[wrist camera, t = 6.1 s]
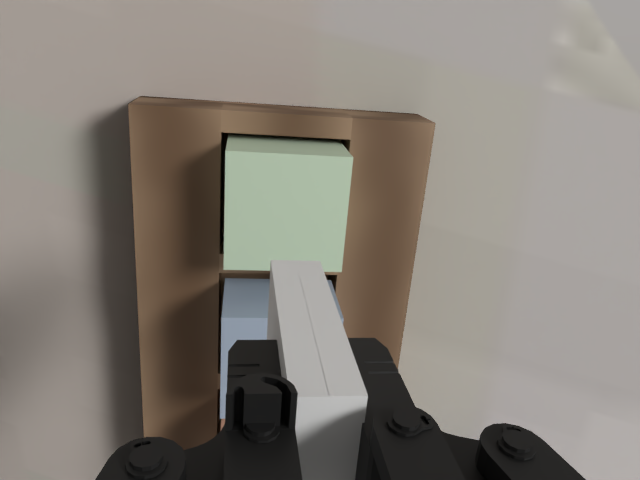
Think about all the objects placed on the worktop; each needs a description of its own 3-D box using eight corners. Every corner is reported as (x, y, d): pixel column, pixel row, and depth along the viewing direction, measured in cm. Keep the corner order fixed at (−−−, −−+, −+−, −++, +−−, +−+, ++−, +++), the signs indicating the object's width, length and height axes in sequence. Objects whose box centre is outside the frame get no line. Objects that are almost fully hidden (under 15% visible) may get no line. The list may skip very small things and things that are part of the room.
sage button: (226, 237, 28) (223, 269, 24) (228, 133, 26) (225, 150, 22) (329, 240, 29) (341, 272, 25) (338, 139, 27) (353, 157, 23)
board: (154, 452, 34) (146, 490, 31) (140, 96, 26) (127, 104, 23) (370, 446, 36) (380, 481, 33) (417, 114, 28) (435, 123, 25)
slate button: (223, 369, 29) (219, 418, 25) (224, 278, 27) (221, 317, 23) (322, 368, 30) (333, 416, 26) (330, 280, 28) (343, 318, 24)
